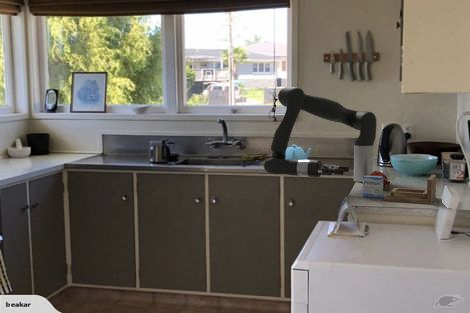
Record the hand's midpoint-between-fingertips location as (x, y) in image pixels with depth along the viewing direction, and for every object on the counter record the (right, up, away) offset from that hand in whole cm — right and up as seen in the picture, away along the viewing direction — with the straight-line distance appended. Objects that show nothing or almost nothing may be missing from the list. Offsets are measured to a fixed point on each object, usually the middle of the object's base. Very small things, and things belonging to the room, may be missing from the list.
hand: (346, 170), depth 256 cm
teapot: (-12, +2, +103) cm, 104 cm away
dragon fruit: (+17, -9, +15) cm, 24 cm away
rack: (+24, -11, -10) cm, 28 cm away
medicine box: (+10, -11, -4) cm, 16 cm away
